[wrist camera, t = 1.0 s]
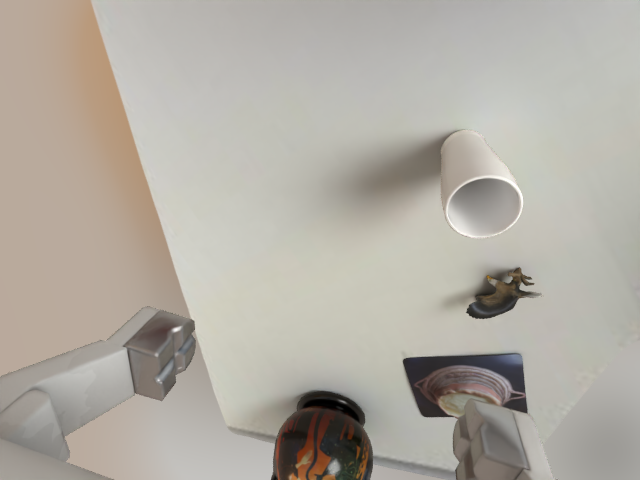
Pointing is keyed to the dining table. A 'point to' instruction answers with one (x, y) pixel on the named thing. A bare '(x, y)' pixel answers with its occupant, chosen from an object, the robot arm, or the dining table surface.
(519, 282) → the eagle figurine
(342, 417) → the amphora vase
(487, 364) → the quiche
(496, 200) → the drinking glass
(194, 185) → the dining table surface
